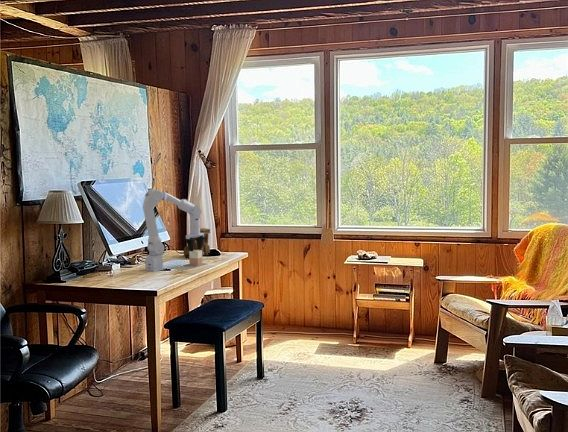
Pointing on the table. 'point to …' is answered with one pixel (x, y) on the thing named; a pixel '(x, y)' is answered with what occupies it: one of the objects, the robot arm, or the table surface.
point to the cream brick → (195, 254)
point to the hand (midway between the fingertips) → (195, 250)
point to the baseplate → (191, 264)
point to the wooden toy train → (205, 245)
